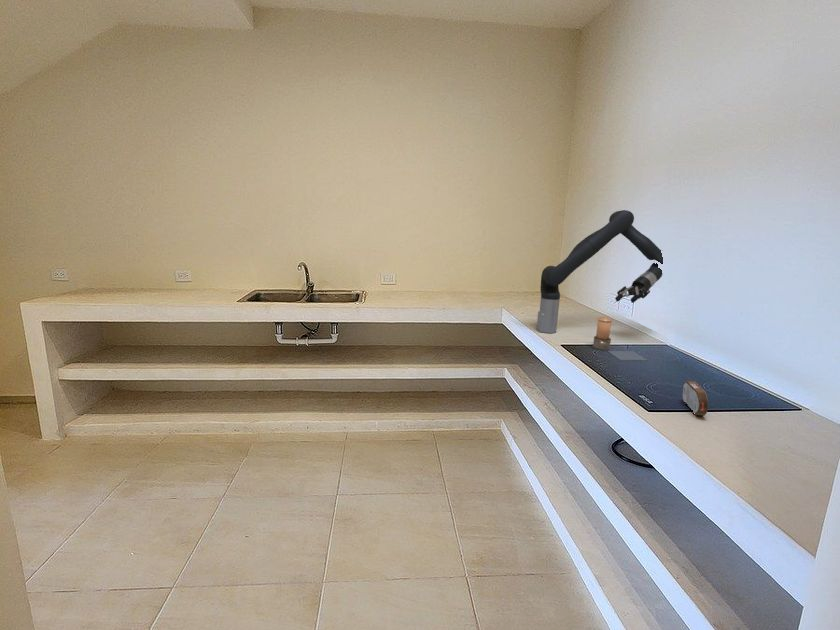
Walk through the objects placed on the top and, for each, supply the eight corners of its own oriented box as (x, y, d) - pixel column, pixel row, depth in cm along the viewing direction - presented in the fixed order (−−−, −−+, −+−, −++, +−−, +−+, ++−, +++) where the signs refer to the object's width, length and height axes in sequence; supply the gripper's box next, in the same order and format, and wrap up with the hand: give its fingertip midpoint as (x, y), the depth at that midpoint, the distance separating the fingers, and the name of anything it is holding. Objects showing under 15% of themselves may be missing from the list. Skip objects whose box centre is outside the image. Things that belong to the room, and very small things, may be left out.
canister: (596, 350, 214) (598, 340, 213) (590, 345, 221) (591, 335, 220) (612, 350, 214) (613, 340, 213) (605, 345, 221) (606, 336, 220)
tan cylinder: (598, 341, 214) (601, 320, 211) (593, 337, 219) (596, 316, 217) (611, 341, 214) (614, 320, 212) (605, 338, 220) (608, 317, 217)
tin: (706, 420, 147) (711, 395, 145) (695, 419, 148) (700, 394, 146) (688, 400, 162) (693, 377, 160) (678, 399, 162) (682, 376, 160)
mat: (620, 360, 201) (620, 359, 201) (607, 351, 212) (607, 350, 212) (647, 361, 202) (647, 360, 202) (633, 352, 213) (633, 351, 213)
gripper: (629, 275, 234) (609, 293, 229) (655, 276, 222) (634, 294, 216) (634, 288, 237) (614, 306, 231) (660, 289, 224) (639, 308, 219)
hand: (623, 300), depth 224 cm, fingers open, 8 cm apart
